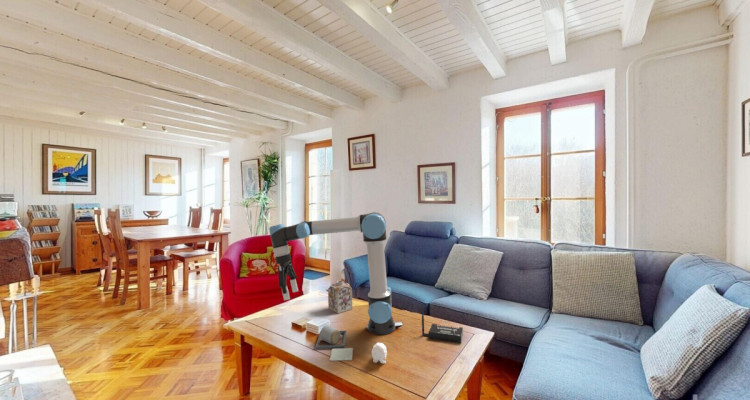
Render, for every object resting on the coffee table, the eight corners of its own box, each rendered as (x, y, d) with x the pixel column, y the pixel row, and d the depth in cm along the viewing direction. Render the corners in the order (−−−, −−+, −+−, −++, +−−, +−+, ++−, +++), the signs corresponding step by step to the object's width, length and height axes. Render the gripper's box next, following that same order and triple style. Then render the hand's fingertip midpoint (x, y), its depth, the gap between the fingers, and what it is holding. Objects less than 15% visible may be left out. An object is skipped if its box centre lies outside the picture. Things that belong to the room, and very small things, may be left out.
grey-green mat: (352, 348, 152) (352, 348, 152) (352, 360, 142) (352, 359, 142) (332, 349, 151) (332, 348, 151) (329, 360, 141) (329, 360, 141)
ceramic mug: (331, 347, 154) (331, 331, 154) (319, 342, 159) (319, 327, 158) (345, 339, 162) (345, 324, 162) (334, 335, 167) (333, 320, 167)
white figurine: (370, 345, 137) (376, 335, 149) (370, 365, 137) (376, 353, 148) (384, 346, 136) (389, 336, 147) (384, 366, 135) (389, 355, 147)
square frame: (346, 333, 169) (346, 330, 169) (344, 348, 153) (344, 345, 153) (320, 334, 168) (320, 331, 168) (315, 349, 152) (315, 346, 152)
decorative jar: (343, 304, 212) (342, 277, 211) (353, 309, 203) (352, 281, 202) (327, 308, 204) (326, 281, 204) (337, 314, 195) (336, 285, 195)
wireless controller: (463, 333, 166) (462, 301, 166) (460, 345, 153) (460, 311, 153) (425, 328, 173) (425, 297, 173) (420, 339, 160) (419, 306, 160)
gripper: (283, 252, 173) (292, 290, 172) (265, 260, 148) (275, 305, 147) (296, 249, 172) (305, 287, 172) (281, 257, 147) (290, 301, 147)
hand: (291, 295), depth 160 cm, fingers open, 13 cm apart
